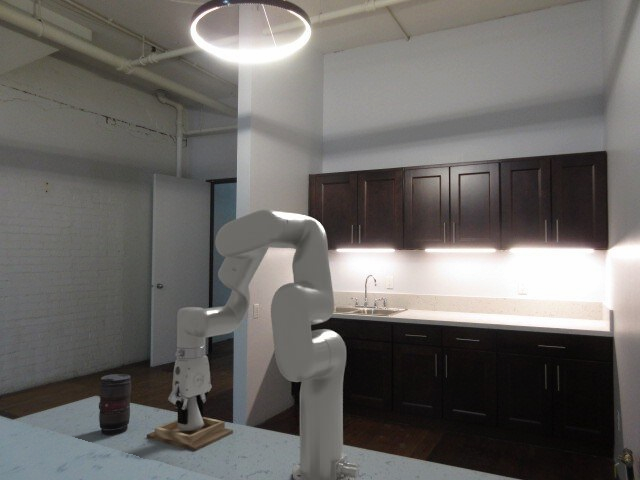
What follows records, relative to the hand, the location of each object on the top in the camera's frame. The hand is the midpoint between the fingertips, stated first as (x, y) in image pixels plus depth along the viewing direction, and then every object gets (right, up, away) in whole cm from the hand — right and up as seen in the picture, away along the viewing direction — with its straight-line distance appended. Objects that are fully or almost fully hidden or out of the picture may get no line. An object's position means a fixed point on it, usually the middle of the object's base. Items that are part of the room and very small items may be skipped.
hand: (190, 419), depth 125 cm
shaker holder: (0, -4, 0) cm, 4 cm away
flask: (0, -2, 0) cm, 2 cm away
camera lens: (-22, -5, +4) cm, 23 cm away
